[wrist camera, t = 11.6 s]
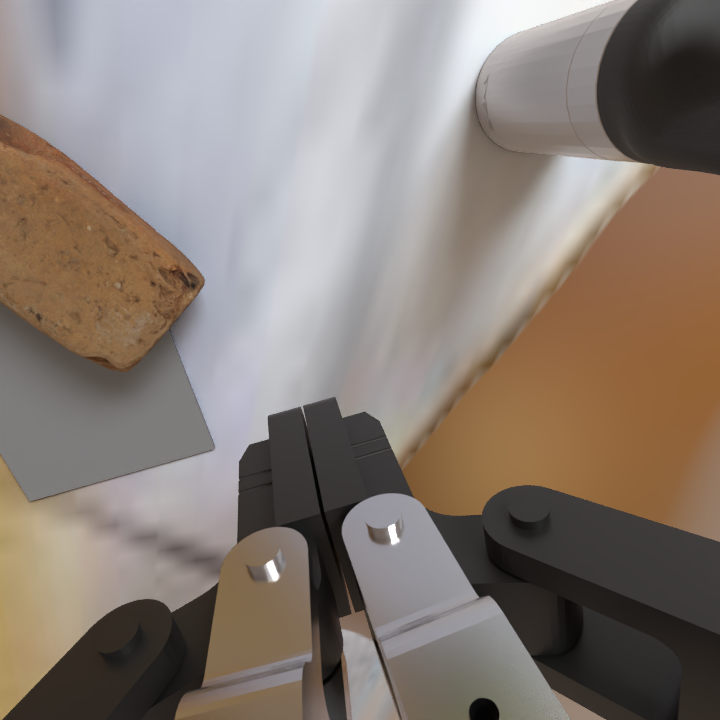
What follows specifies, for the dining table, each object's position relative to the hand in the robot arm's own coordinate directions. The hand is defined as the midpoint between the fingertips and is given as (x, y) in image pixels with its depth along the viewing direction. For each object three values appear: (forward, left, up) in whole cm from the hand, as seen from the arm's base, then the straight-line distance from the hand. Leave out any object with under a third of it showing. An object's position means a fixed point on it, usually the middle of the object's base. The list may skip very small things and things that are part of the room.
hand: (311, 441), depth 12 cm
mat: (+20, +10, -37) cm, 43 cm away
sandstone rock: (+10, +7, -32) cm, 34 cm away
